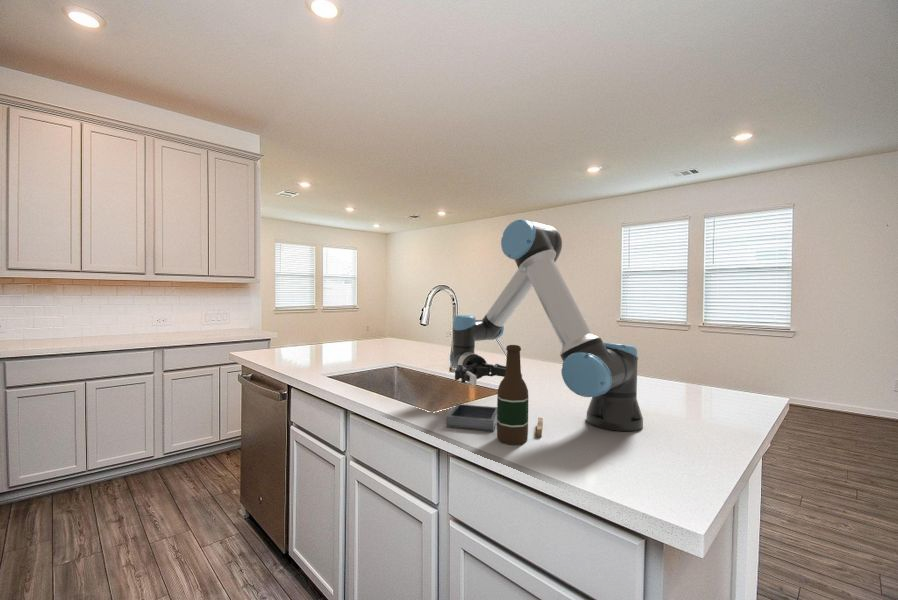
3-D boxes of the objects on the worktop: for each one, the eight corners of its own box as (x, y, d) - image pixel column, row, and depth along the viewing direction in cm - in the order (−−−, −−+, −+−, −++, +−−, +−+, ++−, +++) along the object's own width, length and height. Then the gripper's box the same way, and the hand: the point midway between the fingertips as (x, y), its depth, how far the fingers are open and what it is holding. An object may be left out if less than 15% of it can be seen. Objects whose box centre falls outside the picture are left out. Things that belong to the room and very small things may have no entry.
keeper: (499, 417, 121) (499, 407, 121) (493, 431, 108) (493, 420, 108) (457, 413, 124) (457, 404, 124) (446, 427, 111) (446, 416, 111)
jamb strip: (538, 424, 114) (538, 417, 114) (542, 425, 114) (542, 418, 114) (536, 436, 105) (536, 429, 105) (541, 437, 104) (541, 429, 104)
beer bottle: (527, 446, 98) (529, 348, 97) (495, 444, 99) (496, 346, 99) (527, 435, 105) (529, 344, 105) (498, 433, 107) (499, 343, 107)
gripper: (507, 375, 135) (538, 391, 115) (435, 378, 128) (454, 396, 108) (508, 353, 135) (539, 365, 115) (435, 354, 128) (455, 368, 108)
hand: (498, 380), depth 111 cm, fingers open, 13 cm apart
